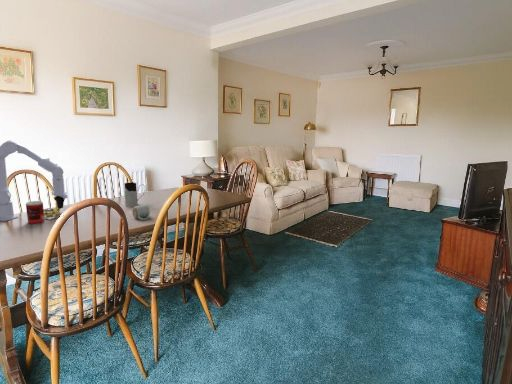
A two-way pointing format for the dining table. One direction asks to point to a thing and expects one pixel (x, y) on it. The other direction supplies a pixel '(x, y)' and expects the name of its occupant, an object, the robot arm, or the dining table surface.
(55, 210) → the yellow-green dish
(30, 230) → the dining table surface
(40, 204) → the canned food
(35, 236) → the dining table surface
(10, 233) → the dining table surface
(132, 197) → the glass holder
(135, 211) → the ceramic mug
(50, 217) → the cap plate
